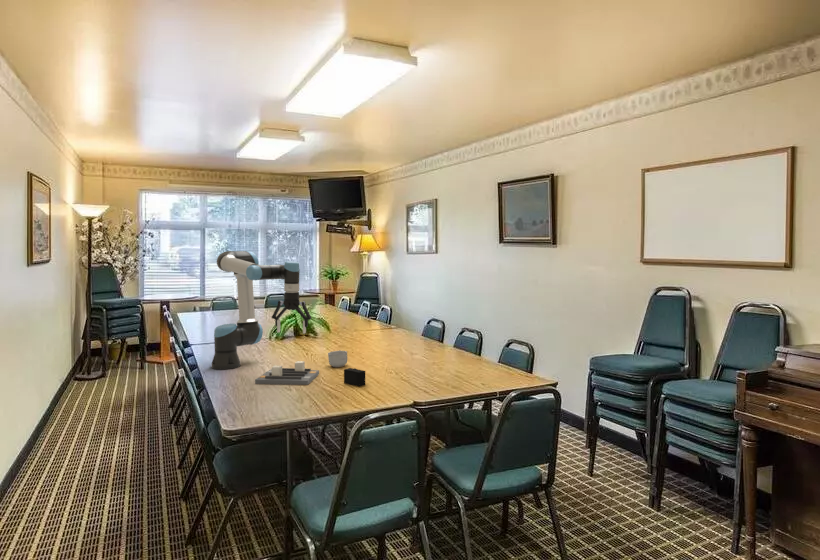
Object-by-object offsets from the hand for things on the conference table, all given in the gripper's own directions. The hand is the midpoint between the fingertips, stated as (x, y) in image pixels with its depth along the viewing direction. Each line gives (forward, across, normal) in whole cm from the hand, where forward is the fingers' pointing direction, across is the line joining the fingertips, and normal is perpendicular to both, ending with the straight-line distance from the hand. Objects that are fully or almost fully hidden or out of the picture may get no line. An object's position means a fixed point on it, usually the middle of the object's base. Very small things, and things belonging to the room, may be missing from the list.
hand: (291, 332), depth 261 cm
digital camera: (+22, +36, -14) cm, 45 cm away
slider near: (+20, -3, -12) cm, 24 cm away
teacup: (+23, +19, +25) cm, 39 cm away
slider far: (+20, +5, -1) cm, 21 cm away
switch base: (+22, +1, -7) cm, 23 cm away
